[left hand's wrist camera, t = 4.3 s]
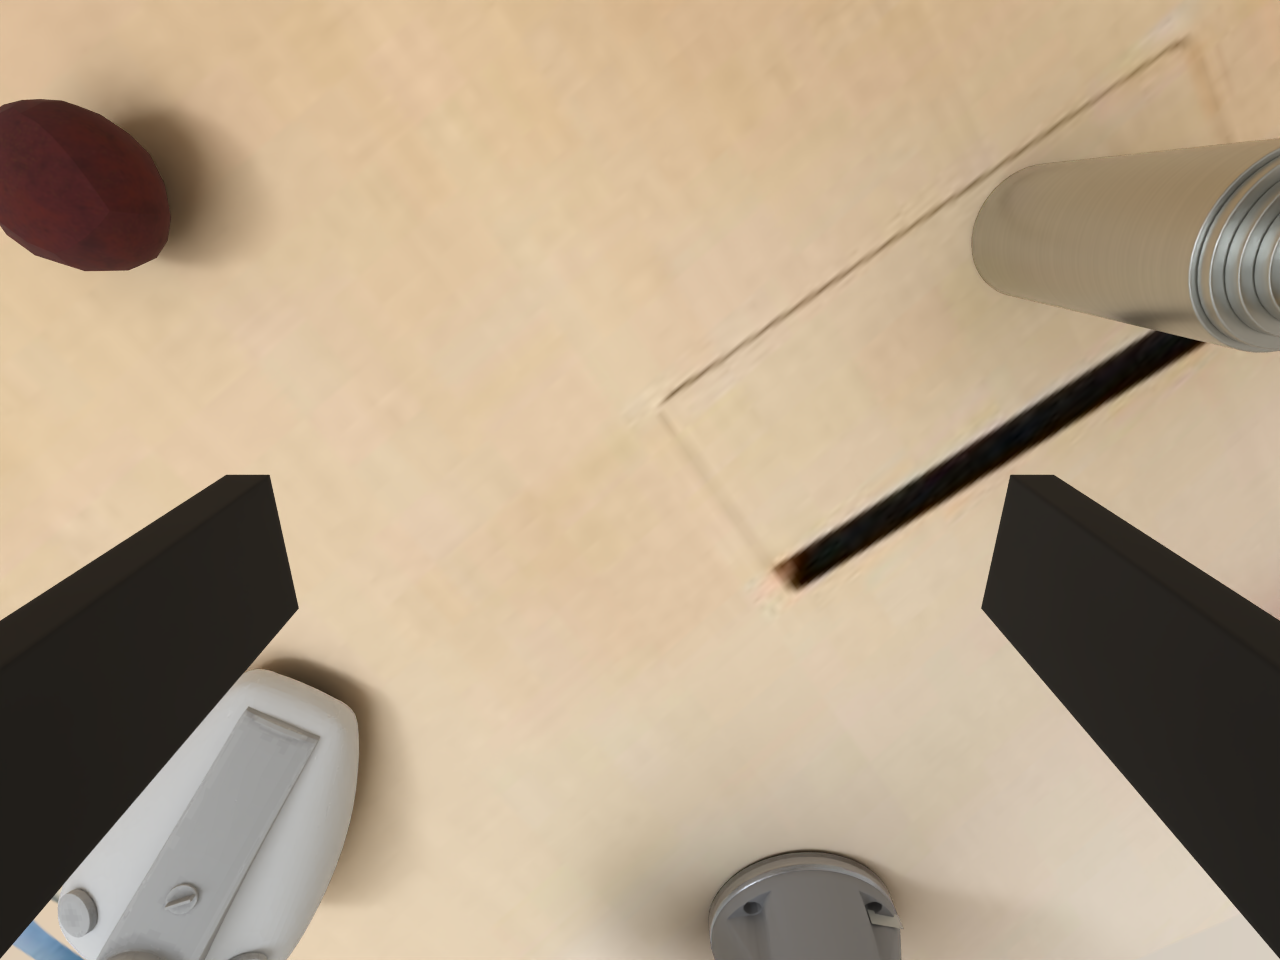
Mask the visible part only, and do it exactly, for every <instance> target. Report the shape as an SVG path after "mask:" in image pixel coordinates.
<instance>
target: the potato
mask: <svg viewBox="0 0 1280 960" xmlns="http://www.w3.org/2000/svg"><path fill="white" fill-rule="evenodd" d="M170 220H171V215H170V210H169V205H168V199H167V194H166V189H165V185H164V182H163V180H162V178H161V176H160V174H159V172H158V170H157V168H156V166H155V164H154V162H153V160H152V158H151V156H150V154H149V153H148V152H147V151H146V150H145V149H144V148H143V147H142V146H141V145H140V144H139V143H138V142H137V141H136V140H135V139H134V138H133V137H132V136H131V135H130V134H128V133H127V132H125V131H124V130H122V129H121V128H120V127H118V126H117V125H115V124H114V123H112V122H111V121H109V120H108V119H106V118H105V117H103V116H102V115H100V114H98V113H95V112H92V111H90V110H87V109H85V108H82V107H79V106H77V105H73V104H70V103H67V102H64V101H59V100H45V99H34V100H21V101H17V102H13V103H9V104H5V105H2V106H1V107H0V226H1V227H2V229H3V230H4V232H5V233H6V234H7V235H8V236H9V237H11V238H12V239H13V240H15V241H16V242H17V243H19V244H20V245H22V246H23V247H24V248H26V249H27V250H29V251H30V252H31V253H33V254H34V255H36V256H39V257H42V258H45V259H49V260H52V261H55V262H58V263H61V264H64V265H67V266H71V267H74V268H77V269H80V270H83V271H119V270H130V269H133V268H135V267H138V266H140V265H142V264H144V263H146V262H148V261H151V260H153V259H155V258H157V256H158V255H159V253H160V252H161V250H162V248H163V247H164V245H165V244H166V242H167V240H168V234H169V227H170Z"/></svg>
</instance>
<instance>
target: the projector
mask: <svg viewBox="0 0 1280 960" xmlns="http://www.w3.org/2000/svg"><path fill="white" fill-rule="evenodd" d="M358 763H359V733H358V723H357V719H356V716H355V714H354V712H353V711H352V709H351V708H350V707H349V706H348V705H346V704H345V703H343V702H342V701H340V700H337V699H335V698H333V697H332V696H330V695H328V694H326V693H324V692H322V691H320V690H318V689H316V688H314V687H311V686H309V685H307V684H304V683H302V682H300V681H297V680H295V679H292V678H290V677H287V676H283V675H280V674H278V673H275V672H274V671H270V670H264V669H254V670H250V671H247V672H245V673H243V674H242V675H241V677H240V678H239V679H238V680H237V681H236V683H235V684H234V685H233V686H232V687H231V688H230V690H229V691H228V692H227V693H226V694H225V695H224V697H223V698H222V699H221V700H220V701H219V702H218V704H217V705H216V706H215V707H214V708H213V710H212V711H211V712H210V713H209V714H208V715H207V717H206V718H205V719H204V720H203V721H202V722H201V724H200V725H199V726H198V727H197V728H196V729H195V731H194V732H193V733H192V734H191V735H190V737H189V738H188V739H187V740H186V741H185V742H184V744H183V745H182V746H181V747H180V748H179V749H178V751H177V752H176V753H175V754H174V755H173V756H172V758H171V759H170V760H169V761H168V762H167V764H166V765H165V766H164V767H163V768H162V769H161V771H160V772H159V773H158V774H157V775H156V776H155V778H154V779H153V780H152V781H151V782H150V783H149V785H148V786H147V787H146V788H145V789H144V791H143V792H142V793H141V794H140V795H139V796H138V798H137V799H136V800H135V801H134V802H133V803H132V805H131V806H130V807H129V808H128V809H127V810H126V812H125V813H124V814H123V815H122V816H121V818H120V819H119V820H118V821H117V822H116V823H115V825H114V826H113V827H112V828H111V829H110V830H109V832H108V833H107V834H106V835H105V836H104V837H103V839H102V840H101V841H100V842H99V843H98V845H97V846H96V847H95V848H94V849H93V850H92V852H91V853H90V854H89V855H88V856H87V857H86V859H85V860H84V861H83V862H82V863H81V864H80V866H79V867H78V868H77V869H76V870H75V872H74V873H73V874H72V875H71V876H70V877H69V879H68V880H67V881H66V882H65V883H64V884H63V887H62V890H61V894H60V897H59V902H58V920H59V925H60V928H61V930H62V932H63V934H64V936H65V937H66V939H67V941H68V942H69V943H70V944H71V945H72V946H73V947H74V949H75V950H76V951H77V952H78V953H79V954H80V955H81V956H83V957H84V958H85V959H86V960H286V959H287V958H288V957H289V956H290V954H291V953H292V951H293V950H294V948H295V947H296V945H297V944H298V942H299V941H300V939H301V937H302V936H303V934H304V932H305V931H306V929H307V927H308V925H309V923H310V922H311V920H312V918H313V916H314V914H315V912H316V910H317V908H318V906H319V904H320V902H321V900H322V898H323V896H324V894H325V892H326V889H327V887H328V885H329V882H330V880H331V878H332V875H333V873H334V870H335V868H336V865H337V862H338V860H339V857H340V854H341V851H342V849H343V845H344V842H345V838H346V835H347V831H348V828H349V824H350V820H351V815H352V810H353V806H354V799H355V793H356V785H357V775H358Z"/></svg>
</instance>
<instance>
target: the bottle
mask: <svg viewBox="0 0 1280 960" xmlns="http://www.w3.org/2000/svg"><path fill="white" fill-rule="evenodd" d="M972 255H973V259H974V263H975V265H976V268H977V270H978V272H979V274H980V275H981V277H982V278H983V279H984V281H985V282H986V283H987V284H988V285H990V286H991V287H992V288H994V289H995V290H997V291H999V292H1001V293H1003V294H1006V295H1010V296H1014V297H1018V298H1022V299H1026V300H1031V301H1035V302H1039V303H1043V304H1047V305H1052V306H1056V307H1060V308H1064V309H1069V310H1073V311H1077V312H1081V313H1085V314H1090V315H1094V316H1098V317H1102V318H1106V319H1111V320H1115V321H1119V322H1123V323H1127V324H1132V325H1136V326H1140V327H1144V328H1149V329H1153V330H1157V331H1161V332H1165V333H1170V334H1174V335H1178V336H1182V337H1186V338H1191V339H1195V340H1199V341H1203V342H1208V343H1212V344H1216V345H1220V346H1224V347H1229V348H1233V349H1237V350H1241V351H1248V352H1274V351H1280V138H1276V139H1267V140H1257V141H1248V142H1239V143H1230V144H1221V145H1212V146H1202V147H1193V148H1184V149H1175V150H1166V151H1156V152H1147V153H1138V154H1129V155H1120V156H1111V157H1101V158H1092V159H1083V160H1074V161H1065V162H1055V163H1046V164H1039V165H1034V166H1031V167H1027V168H1025V169H1023V170H1020V171H1018V172H1016V173H1015V174H1013V175H1011V176H1010V177H1008V178H1007V179H1006V180H1004V181H1003V182H1002V183H1001V184H1000V185H999V186H998V187H996V188H995V190H994V191H993V192H992V193H991V194H990V195H989V197H988V198H987V200H986V201H985V202H984V204H983V206H982V208H981V210H980V211H979V214H978V216H977V219H976V221H975V225H974V228H973V234H972Z"/></svg>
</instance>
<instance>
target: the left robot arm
mask: <svg viewBox="0 0 1280 960" xmlns="http://www.w3.org/2000/svg"><path fill="white" fill-rule="evenodd" d="M298 609H299V607H298V603H297V598H296V594H295V589H294V585H293V580H292V575H291V571H290V566H289V562H288V557H287V553H286V548H285V543H284V539H283V534H282V530H281V525H280V521H279V516H278V511H277V507H276V502H275V498H274V493H273V489H272V484H271V479H270V475H225V476H224V477H222V478H221V479H219V480H218V481H216V482H214V483H213V484H211V485H210V486H208V487H207V488H205V489H204V490H202V491H201V492H199V493H197V494H196V495H194V496H193V497H191V498H190V499H188V500H187V501H185V502H183V503H182V504H180V505H179V506H177V507H176V508H174V509H173V510H171V511H170V512H168V513H166V514H165V515H163V516H162V517H160V518H159V519H157V520H156V521H154V522H153V523H151V524H149V525H148V526H146V527H145V528H143V529H142V530H140V531H139V532H137V533H135V534H134V535H132V536H131V537H129V538H128V539H126V540H125V541H123V542H122V543H120V544H118V545H117V546H115V547H114V548H112V549H111V550H109V551H108V552H106V553H105V554H103V555H101V556H100V557H98V558H97V559H95V560H94V561H92V562H91V563H89V564H87V565H86V566H84V567H83V568H81V569H80V570H78V571H77V572H75V573H74V574H72V575H70V576H69V577H67V578H66V579H64V580H63V581H61V582H60V583H58V584H56V585H55V586H53V587H52V588H50V589H49V590H47V591H46V592H44V593H43V594H41V595H39V596H38V597H36V598H35V599H33V600H32V601H30V602H29V603H27V604H26V605H24V606H22V607H21V608H19V609H18V610H16V611H15V612H13V613H12V614H10V615H8V616H7V617H5V618H4V619H2V620H1V621H0V958H1V957H2V956H3V955H4V954H5V952H6V951H7V950H8V949H9V948H10V947H11V945H12V944H13V943H14V942H15V941H16V940H17V938H18V937H19V936H20V935H21V934H22V933H23V931H24V930H25V929H26V928H27V927H28V925H29V924H30V923H31V922H32V921H33V920H34V918H35V917H36V916H37V915H38V914H39V913H40V911H41V910H42V909H43V908H44V907H45V906H46V904H47V903H48V902H49V901H50V900H51V898H52V897H53V896H54V895H55V894H56V893H57V891H58V890H59V889H60V888H61V887H62V886H63V884H64V883H65V882H66V881H67V880H68V879H69V877H70V876H71V875H72V874H73V873H74V872H75V870H76V869H77V868H78V867H79V866H80V864H81V863H82V862H83V861H84V860H85V859H86V857H87V856H88V855H89V854H90V853H91V852H92V850H93V849H94V848H95V847H96V846H97V845H98V843H99V842H100V841H101V840H102V839H103V837H104V836H105V835H106V834H107V833H108V832H109V830H110V829H111V828H112V827H113V826H114V825H115V823H116V822H117V821H118V820H119V819H120V818H121V816H122V815H123V814H124V813H125V812H126V810H127V809H128V808H129V807H130V806H131V805H132V803H133V802H134V801H135V800H136V799H137V798H138V796H139V795H140V794H141V793H142V792H143V791H144V789H145V788H146V787H147V786H148V785H149V783H150V782H151V781H152V780H153V779H154V778H155V776H156V775H157V774H158V773H159V772H160V771H161V769H162V768H163V767H164V766H165V765H166V764H167V762H168V761H169V760H170V759H171V758H172V756H173V755H174V754H175V753H176V752H177V751H178V749H179V748H180V747H181V746H182V745H183V744H184V742H185V741H186V740H187V739H188V738H189V737H190V735H191V734H192V733H193V732H194V731H195V729H196V728H197V727H198V726H199V725H200V724H201V722H202V721H203V720H204V719H205V718H206V717H207V715H208V714H209V713H210V712H211V711H212V710H213V708H214V707H215V706H216V705H217V704H218V702H219V701H220V700H221V699H222V698H223V697H224V695H225V694H226V693H227V692H228V691H229V690H230V688H231V687H232V686H233V685H234V684H235V683H236V681H237V680H238V679H239V678H240V677H241V675H242V674H243V673H244V672H245V671H246V670H247V668H248V667H249V666H250V665H251V664H252V663H253V661H254V660H255V659H256V658H257V657H258V656H259V654H260V653H261V652H262V651H263V650H264V648H265V647H266V646H267V645H268V644H269V643H270V641H271V640H272V639H273V638H274V637H275V636H276V634H277V633H278V632H279V631H280V630H281V629H282V627H283V626H284V625H285V624H286V623H287V621H288V620H289V619H290V618H291V617H292V616H293V614H294V613H295V612H296V611H297V610H298ZM981 609H982V610H983V611H984V612H985V613H986V614H987V616H988V617H989V618H990V619H991V620H992V621H993V623H994V624H995V625H996V626H997V627H998V629H999V630H1000V631H1001V632H1002V633H1003V634H1004V636H1005V637H1006V638H1007V639H1008V640H1009V641H1010V643H1011V644H1012V645H1013V646H1014V647H1015V648H1016V650H1017V651H1018V652H1019V653H1020V654H1021V656H1022V657H1023V658H1024V659H1025V660H1026V661H1027V663H1028V664H1029V665H1030V666H1031V667H1032V668H1033V670H1034V671H1035V672H1036V673H1037V674H1038V675H1039V677H1040V678H1041V679H1042V680H1043V681H1044V683H1045V684H1046V685H1047V686H1048V687H1049V688H1050V690H1051V691H1052V692H1053V693H1054V694H1055V695H1056V697H1057V698H1058V699H1059V700H1060V701H1061V702H1062V704H1063V705H1064V706H1065V707H1066V708H1067V710H1068V711H1069V712H1070V713H1071V714H1072V715H1073V717H1074V718H1075V719H1076V720H1077V721H1078V722H1079V724H1080V725H1081V726H1082V727H1083V728H1084V729H1085V731H1086V732H1087V733H1088V734H1089V735H1090V737H1091V738H1092V739H1093V740H1094V741H1095V742H1096V744H1097V745H1098V746H1099V747H1100V748H1101V749H1102V751H1103V752H1104V753H1105V754H1106V755H1107V756H1108V758H1109V759H1110V760H1111V761H1112V762H1113V764H1114V765H1115V766H1116V767H1117V768H1118V769H1119V771H1120V772H1121V773H1122V774H1123V775H1124V776H1125V778H1126V779H1127V780H1128V781H1129V782H1130V783H1131V785H1132V786H1133V787H1134V788H1135V789H1136V791H1137V792H1138V793H1139V794H1140V795H1141V796H1142V798H1143V799H1144V800H1145V801H1146V802H1147V803H1148V805H1149V806H1150V807H1151V808H1152V809H1153V810H1154V812H1155V813H1156V814H1157V815H1158V816H1159V818H1160V819H1161V820H1162V821H1163V822H1164V823H1165V825H1166V826H1167V827H1168V828H1169V829H1170V830H1171V832H1172V833H1173V834H1174V835H1175V836H1176V837H1177V839H1178V840H1179V841H1180V842H1181V843H1182V845H1183V846H1184V847H1185V848H1186V849H1187V850H1188V852H1189V853H1190V854H1191V855H1192V856H1193V857H1194V859H1195V860H1196V861H1197V862H1198V863H1199V864H1200V866H1201V867H1202V868H1203V869H1204V870H1205V872H1206V873H1207V874H1208V875H1209V876H1210V877H1211V879H1212V880H1213V881H1214V882H1215V883H1216V884H1217V886H1218V887H1219V888H1220V889H1221V890H1222V891H1223V893H1224V894H1225V895H1226V896H1227V897H1228V898H1229V900H1230V901H1231V902H1232V903H1233V904H1234V906H1235V907H1236V908H1237V909H1238V910H1239V911H1240V913H1241V914H1242V915H1243V916H1244V917H1245V918H1246V920H1247V921H1248V922H1249V923H1250V924H1251V925H1252V927H1253V928H1254V929H1255V930H1256V931H1257V933H1258V934H1259V935H1260V936H1261V937H1262V938H1263V940H1264V941H1265V942H1266V943H1267V944H1268V945H1269V947H1270V948H1271V949H1272V950H1273V951H1274V952H1275V954H1276V955H1277V956H1278V957H1279V958H1280V621H1279V620H1278V619H1276V618H1275V617H1273V616H1272V615H1270V614H1268V613H1267V612H1265V611H1264V610H1262V609H1261V608H1259V607H1258V606H1256V605H1254V604H1253V603H1251V602H1250V601H1248V600H1247V599H1245V598H1244V597H1242V596H1241V595H1239V594H1237V593H1236V592H1234V591H1233V590H1231V589H1230V588H1228V587H1227V586H1225V585H1224V584H1222V583H1220V582H1219V581H1217V580H1216V579H1214V578H1213V577H1211V576H1210V575H1208V574H1206V573H1205V572H1203V571H1202V570H1200V569H1199V568H1197V567H1196V566H1194V565H1193V564H1191V563H1189V562H1188V561H1186V560H1185V559H1183V558H1182V557H1180V556H1179V555H1177V554H1175V553H1174V552H1172V551H1171V550H1169V549H1168V548H1166V547H1165V546H1163V545H1162V544H1160V543H1158V542H1157V541H1155V540H1154V539H1152V538H1151V537H1149V536H1148V535H1146V534H1145V533H1143V532H1141V531H1140V530H1138V529H1137V528H1135V527H1134V526H1132V525H1131V524H1129V523H1127V522H1126V521H1124V520H1123V519H1121V518H1120V517H1118V516H1117V515H1115V514H1114V513H1112V512H1110V511H1109V510H1107V509H1106V508H1104V507H1103V506H1101V505H1100V504H1098V503H1097V502H1095V501H1093V500H1092V499H1090V498H1089V497H1087V496H1086V495H1084V494H1083V493H1081V492H1079V491H1078V490H1076V489H1075V488H1073V487H1072V486H1070V485H1069V484H1067V483H1066V482H1064V481H1062V480H1061V479H1059V478H1058V477H1056V476H1055V475H1010V479H1009V484H1008V489H1007V493H1006V498H1005V502H1004V507H1003V511H1002V516H1001V521H1000V525H999V530H998V534H997V539H996V543H995V548H994V553H993V557H992V562H991V566H990V571H989V575H988V580H987V585H986V589H985V594H984V598H983V603H982V607H981ZM900 929H903V926H902V923H901V921H900V918H899V915H897V912H896V910H895V907H894V904H893V901H892V899H891V896H890V893H889V891H888V889H887V887H886V886H885V884H884V883H883V881H882V880H881V879H880V878H879V877H878V876H877V875H876V874H875V873H874V872H872V871H871V870H870V869H868V868H867V867H865V866H864V865H862V864H860V863H858V862H856V861H854V860H851V859H848V858H845V857H842V856H838V855H834V854H828V853H820V852H798V853H789V854H783V855H779V856H775V857H771V858H768V859H765V860H762V861H759V862H757V863H755V864H753V865H751V866H749V867H747V868H745V869H743V870H742V871H740V872H739V873H737V874H736V875H734V876H733V877H732V878H731V879H730V880H729V881H727V882H726V883H725V885H724V886H723V887H722V888H721V889H720V890H719V892H718V893H717V895H716V897H715V898H714V900H713V903H712V905H711V908H710V912H709V932H710V943H711V949H712V952H713V955H714V959H715V960H901V939H900Z"/></svg>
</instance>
